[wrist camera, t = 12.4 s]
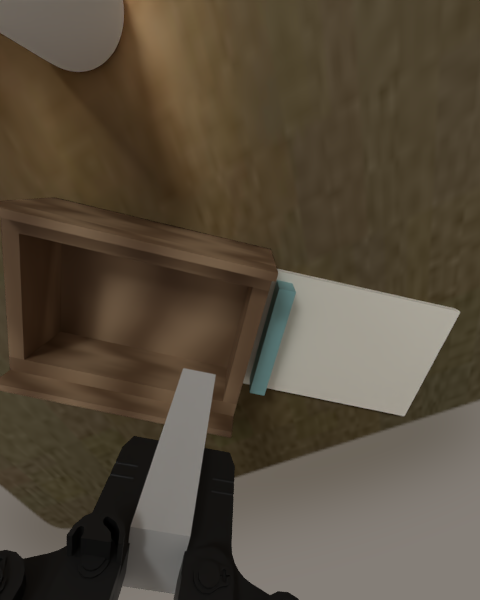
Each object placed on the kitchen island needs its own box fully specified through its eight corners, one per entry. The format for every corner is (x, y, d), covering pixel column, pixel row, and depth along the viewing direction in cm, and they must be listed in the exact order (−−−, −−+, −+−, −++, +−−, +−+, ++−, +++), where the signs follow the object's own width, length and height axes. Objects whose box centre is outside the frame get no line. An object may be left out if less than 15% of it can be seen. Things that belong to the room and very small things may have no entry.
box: (54, 340, 26) (-7, 389, 19) (54, 197, 21) (-24, 202, 15) (235, 379, 26) (230, 437, 20) (270, 249, 22) (278, 273, 16)
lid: (240, 374, 27) (239, 398, 24) (269, 265, 23) (271, 276, 20) (398, 406, 27) (416, 433, 24) (450, 305, 24) (479, 323, 21)
